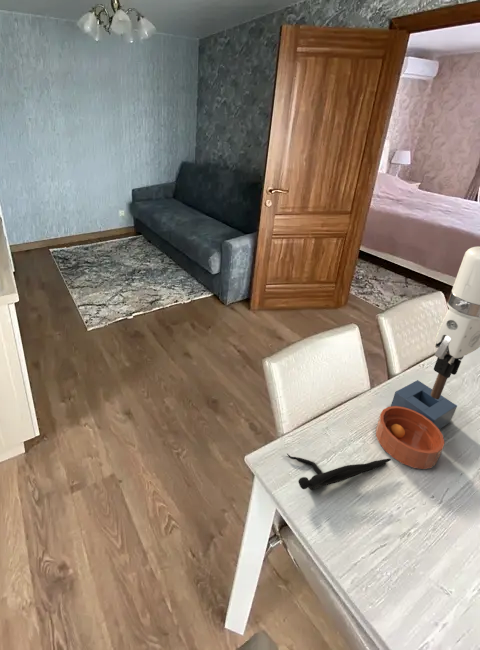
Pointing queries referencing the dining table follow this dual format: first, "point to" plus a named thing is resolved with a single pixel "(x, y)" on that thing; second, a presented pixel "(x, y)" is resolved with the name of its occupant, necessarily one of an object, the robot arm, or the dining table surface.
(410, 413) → the bowl
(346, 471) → the dark humanoid figurine
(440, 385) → the stick
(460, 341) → the robot arm
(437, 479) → the dining table surface
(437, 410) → the holder
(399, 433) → the ball
